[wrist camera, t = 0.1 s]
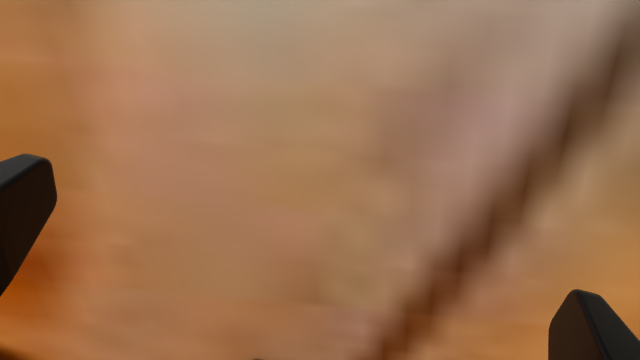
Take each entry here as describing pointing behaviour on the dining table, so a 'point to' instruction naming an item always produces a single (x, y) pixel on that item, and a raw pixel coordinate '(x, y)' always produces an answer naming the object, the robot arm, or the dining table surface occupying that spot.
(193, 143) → the dining table surface
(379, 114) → the dining table surface
